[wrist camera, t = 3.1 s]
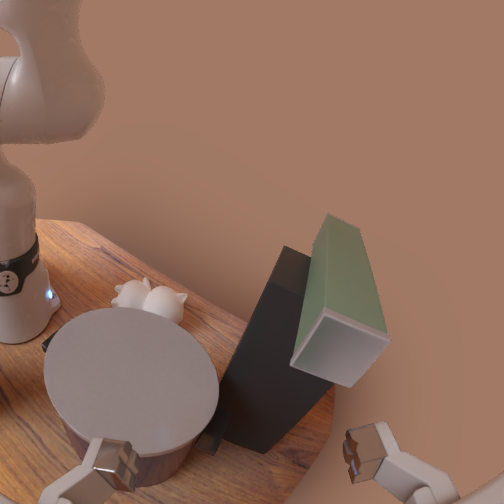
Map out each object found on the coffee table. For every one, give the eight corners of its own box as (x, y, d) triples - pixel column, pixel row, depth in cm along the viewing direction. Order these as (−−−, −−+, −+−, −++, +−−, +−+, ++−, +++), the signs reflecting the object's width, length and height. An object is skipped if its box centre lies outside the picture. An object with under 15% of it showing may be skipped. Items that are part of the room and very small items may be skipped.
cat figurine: (117, 269, 43) (188, 292, 44) (134, 270, 53) (192, 289, 54) (104, 321, 42) (173, 345, 43) (123, 313, 52) (180, 332, 53)
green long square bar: (350, 389, 15) (391, 341, 13) (288, 365, 15) (323, 312, 14) (343, 258, 33) (359, 228, 31) (312, 244, 33) (327, 212, 32)
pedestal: (263, 454, 33) (378, 328, 22) (197, 427, 34) (269, 280, 23) (275, 413, 40) (369, 283, 29) (216, 389, 41) (284, 245, 30)
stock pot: (174, 518, 21) (199, 499, 15) (34, 429, 23) (-2, 360, 16) (218, 422, 36) (255, 360, 30) (100, 357, 38) (100, 280, 31)
